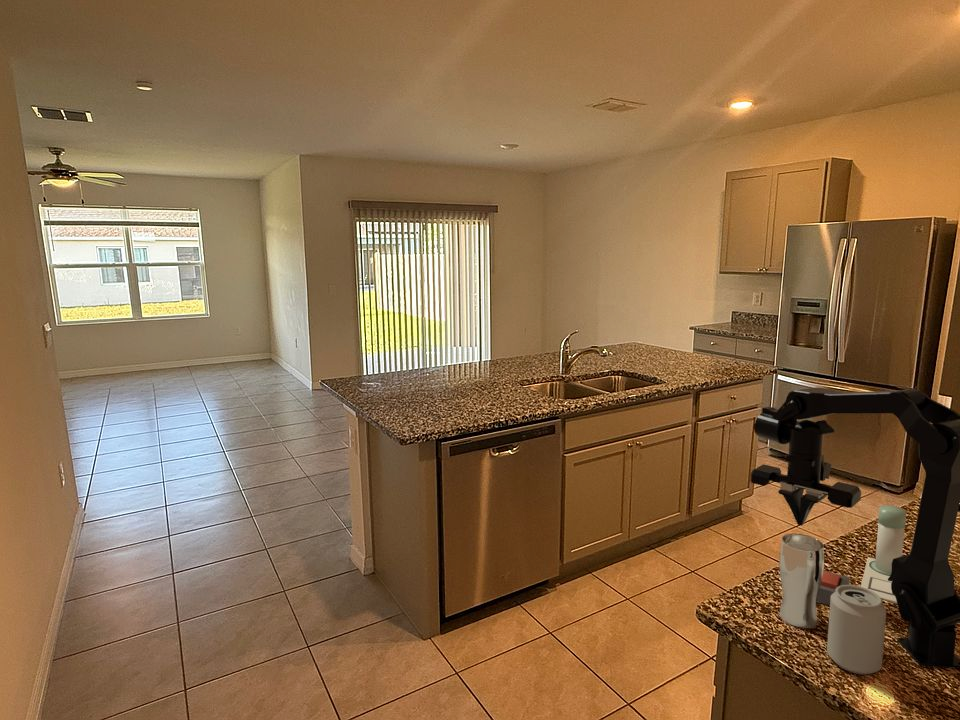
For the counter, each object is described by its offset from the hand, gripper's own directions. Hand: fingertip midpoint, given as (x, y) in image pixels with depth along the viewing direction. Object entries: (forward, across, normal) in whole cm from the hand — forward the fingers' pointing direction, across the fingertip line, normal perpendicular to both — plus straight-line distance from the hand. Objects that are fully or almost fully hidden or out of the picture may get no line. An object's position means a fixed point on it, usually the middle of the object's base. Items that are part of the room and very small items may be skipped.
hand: (800, 524), depth 115 cm
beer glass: (+12, -5, +14) cm, 19 cm away
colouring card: (+12, -12, -12) cm, 21 cm away
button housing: (+12, -6, +2) cm, 13 cm away
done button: (+11, -6, +2) cm, 13 cm away
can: (+12, -16, +19) cm, 28 cm away
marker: (+12, -11, -17) cm, 24 cm away
